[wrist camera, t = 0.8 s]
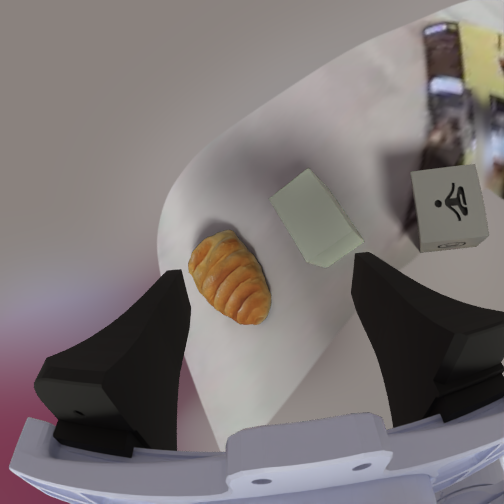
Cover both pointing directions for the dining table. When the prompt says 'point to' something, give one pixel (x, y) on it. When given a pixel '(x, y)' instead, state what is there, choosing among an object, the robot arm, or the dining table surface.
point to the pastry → (230, 278)
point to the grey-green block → (315, 220)
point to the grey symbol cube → (449, 208)
